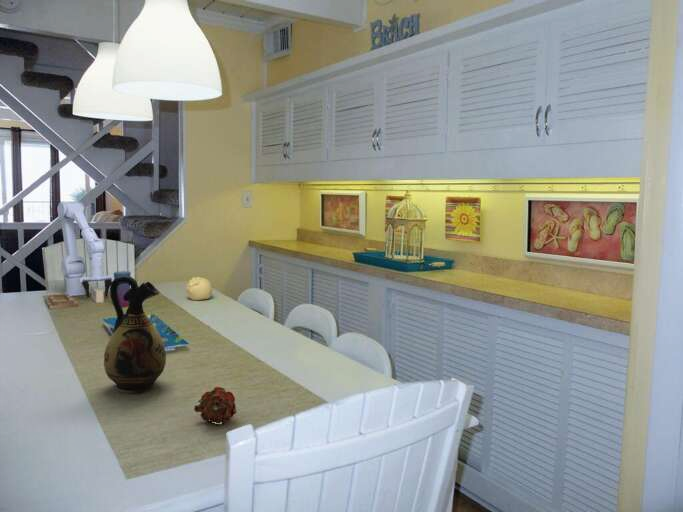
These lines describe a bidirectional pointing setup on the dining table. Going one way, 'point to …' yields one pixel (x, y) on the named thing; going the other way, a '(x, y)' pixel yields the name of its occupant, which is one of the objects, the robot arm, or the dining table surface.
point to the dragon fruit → (217, 405)
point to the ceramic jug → (134, 341)
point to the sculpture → (199, 288)
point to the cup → (122, 288)
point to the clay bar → (97, 294)
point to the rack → (61, 301)
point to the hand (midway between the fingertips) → (97, 296)
